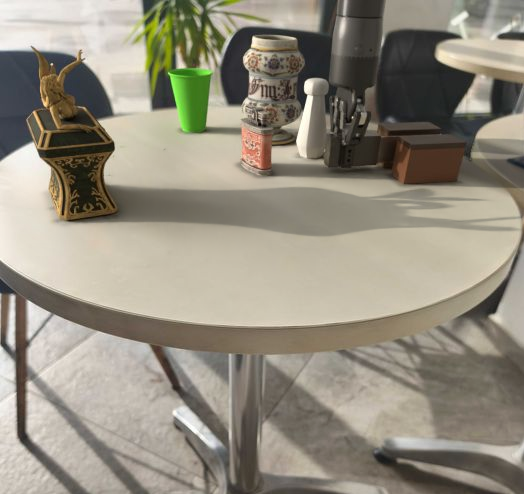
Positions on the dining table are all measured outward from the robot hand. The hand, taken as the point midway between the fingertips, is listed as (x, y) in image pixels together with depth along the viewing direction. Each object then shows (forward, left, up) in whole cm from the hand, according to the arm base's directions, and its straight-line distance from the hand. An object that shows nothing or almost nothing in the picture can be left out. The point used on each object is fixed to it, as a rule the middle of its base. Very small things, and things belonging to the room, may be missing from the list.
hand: (342, 163), depth 87 cm
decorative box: (+44, +6, -1) cm, 45 cm away
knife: (-8, 0, 0) cm, 8 cm away
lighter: (+15, -3, -1) cm, 15 cm away
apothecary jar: (+8, -21, -1) cm, 23 cm away
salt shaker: (+3, -9, -1) cm, 10 cm away
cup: (+23, -30, -1) cm, 38 cm away
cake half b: (-13, -3, -1) cm, 13 cm away
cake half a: (-13, +6, -1) cm, 14 cm away
